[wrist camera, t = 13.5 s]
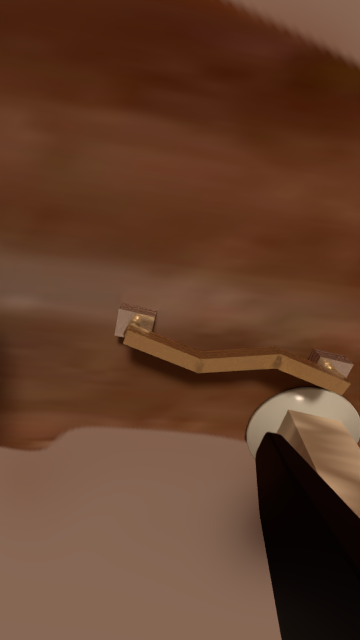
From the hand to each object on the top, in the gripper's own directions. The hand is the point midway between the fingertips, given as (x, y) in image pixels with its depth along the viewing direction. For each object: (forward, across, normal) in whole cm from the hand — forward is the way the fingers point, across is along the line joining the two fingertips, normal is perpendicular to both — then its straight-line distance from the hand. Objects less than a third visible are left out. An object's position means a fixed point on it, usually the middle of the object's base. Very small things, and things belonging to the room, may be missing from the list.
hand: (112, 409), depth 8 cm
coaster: (+12, -14, +9) cm, 21 cm away
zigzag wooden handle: (+12, -6, +2) cm, 14 cm away
